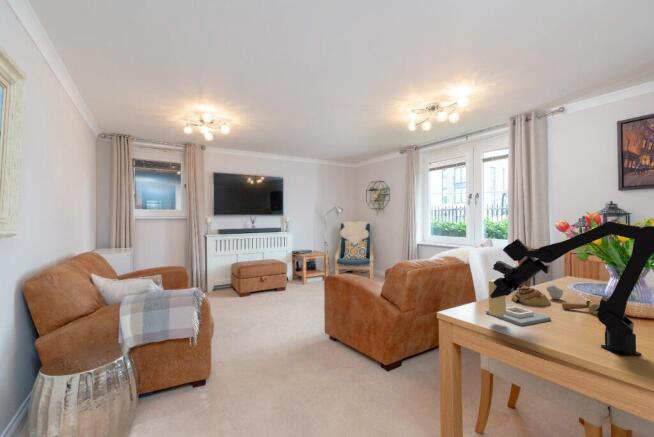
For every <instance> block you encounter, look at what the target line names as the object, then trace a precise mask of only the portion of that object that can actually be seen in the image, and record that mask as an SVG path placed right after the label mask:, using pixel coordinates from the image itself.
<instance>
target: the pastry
mask: <svg viewBox="0 0 654 437" xmlns="http://www.w3.org/2000/svg"><path fill="white" fill-rule="evenodd" d="M517 289H518V290H516V291H514V292H512V296H511V301H512V302H514V303H519V304H522V305H526V306H528V305H529V306H534V307H535V306H536V307H547V306H548V307H549V306H551V305H552V302H551V301H550V300H549V298H548V297H547V296H546V294H545V293H544V292H541V291H540V290H538V289H536V288H534V287H530V286H527V285H524V286H523V287H521V288H517Z"/></svg>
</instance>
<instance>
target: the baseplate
mask: <svg viewBox="0 0 654 437" xmlns="http://www.w3.org/2000/svg"><path fill="white" fill-rule="evenodd" d="M485 314H487V315H490V316H493V317H496V318H498V319H501V320H504V321H506V322H510V323H512V324H514V325H516V326H521V327H522V326H528V325H533V324H539V323H544V322H548V321H551V320H552V318H551V316H547V315H545V314H541V313H538V312H534V311H532V310H530V309H529V310H528V309H525V308H523V307H519V306H506V314H505V315H504V316H503V317H500V316H496V315H491V314H489V309H487V310H485Z"/></svg>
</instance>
